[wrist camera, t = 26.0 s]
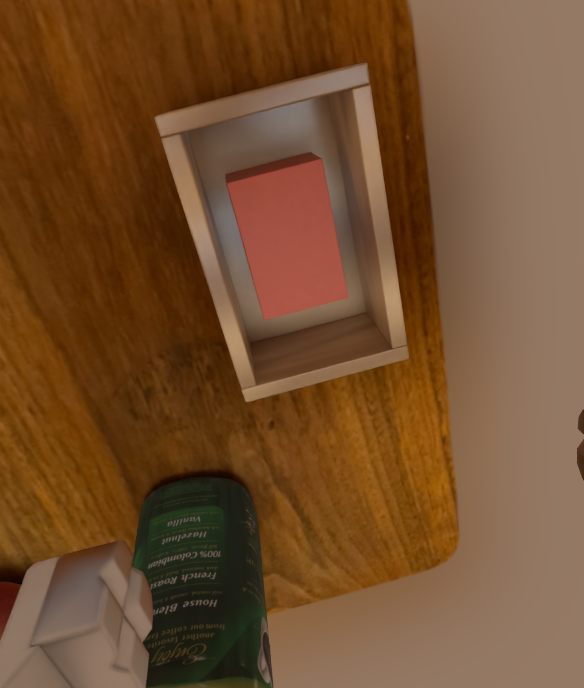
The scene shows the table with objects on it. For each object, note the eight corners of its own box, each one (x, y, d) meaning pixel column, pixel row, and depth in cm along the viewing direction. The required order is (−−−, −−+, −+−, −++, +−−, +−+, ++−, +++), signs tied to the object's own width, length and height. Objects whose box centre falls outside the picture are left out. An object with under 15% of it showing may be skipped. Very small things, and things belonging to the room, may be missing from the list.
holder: (165, 112, 25) (153, 116, 20) (337, 67, 25) (367, 61, 20) (240, 353, 31) (245, 403, 26) (378, 316, 31) (409, 358, 26)
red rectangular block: (224, 174, 26) (225, 183, 23) (311, 151, 26) (322, 158, 23) (259, 299, 29) (264, 320, 27) (336, 279, 29) (348, 298, 27)
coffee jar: (129, 479, 34) (49, 846, 17) (249, 462, 35) (282, 798, 18) (157, 582, 38) (114, 954, 22) (264, 564, 39) (301, 912, 22)
